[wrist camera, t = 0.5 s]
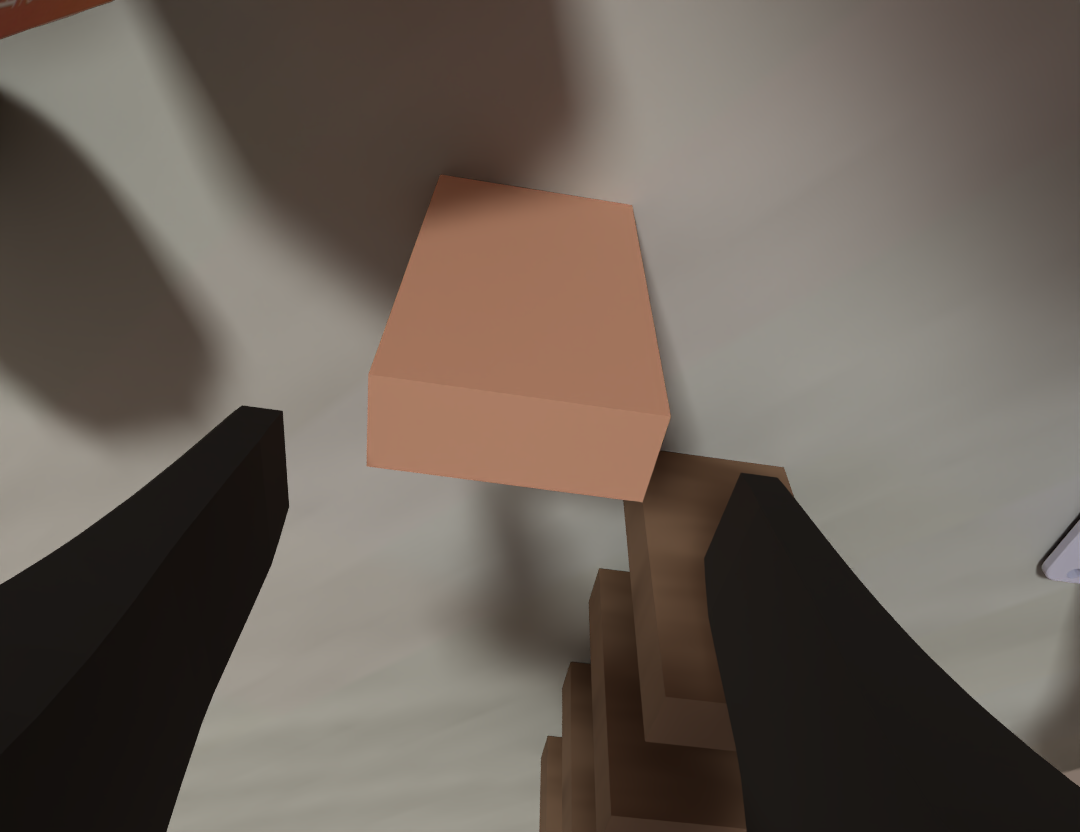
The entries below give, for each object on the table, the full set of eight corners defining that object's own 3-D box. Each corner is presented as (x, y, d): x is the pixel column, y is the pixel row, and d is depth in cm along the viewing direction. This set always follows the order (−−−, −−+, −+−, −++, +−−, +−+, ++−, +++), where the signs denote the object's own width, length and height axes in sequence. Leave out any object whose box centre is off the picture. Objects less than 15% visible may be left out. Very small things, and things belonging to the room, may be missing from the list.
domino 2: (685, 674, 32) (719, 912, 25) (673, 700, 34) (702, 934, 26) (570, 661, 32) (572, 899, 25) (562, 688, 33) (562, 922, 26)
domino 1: (631, 205, 20) (671, 416, 13) (615, 274, 21) (642, 502, 14) (440, 174, 19) (368, 374, 12) (434, 246, 21) (366, 466, 13)
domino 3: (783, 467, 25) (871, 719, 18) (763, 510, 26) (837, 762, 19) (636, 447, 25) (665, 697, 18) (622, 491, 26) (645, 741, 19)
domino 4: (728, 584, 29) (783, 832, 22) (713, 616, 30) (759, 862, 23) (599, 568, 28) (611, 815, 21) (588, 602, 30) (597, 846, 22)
